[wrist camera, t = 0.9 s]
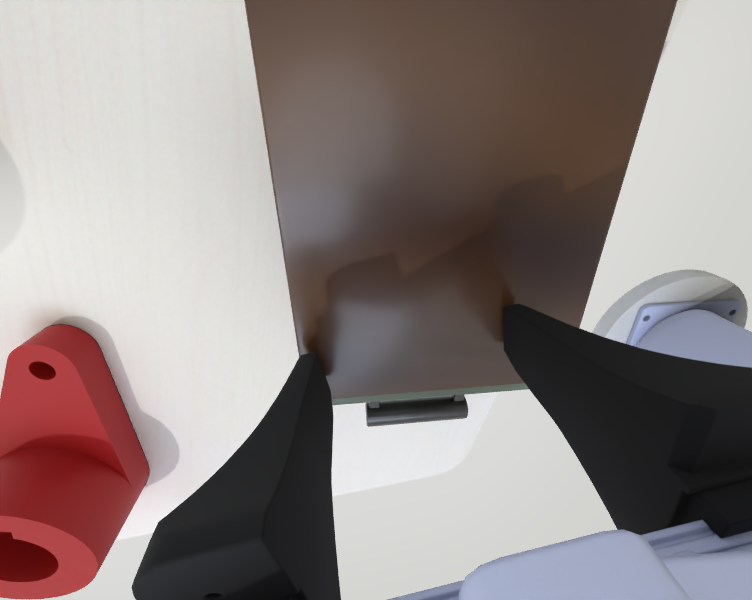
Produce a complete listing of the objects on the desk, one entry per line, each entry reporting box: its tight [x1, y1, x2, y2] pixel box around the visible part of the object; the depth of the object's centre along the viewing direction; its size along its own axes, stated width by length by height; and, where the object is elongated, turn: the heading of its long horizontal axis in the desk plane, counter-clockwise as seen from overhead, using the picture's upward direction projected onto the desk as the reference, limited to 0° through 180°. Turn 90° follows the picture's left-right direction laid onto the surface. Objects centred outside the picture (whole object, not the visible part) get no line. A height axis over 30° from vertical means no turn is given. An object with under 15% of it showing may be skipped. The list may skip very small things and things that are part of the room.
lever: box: [0, 325, 149, 599], centre depth 22 cm, size 18×9×7 cm, turn 164°
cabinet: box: [244, 0, 677, 399], centre depth 15 cm, size 14×11×9 cm
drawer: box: [332, 384, 529, 427], centre depth 17 cm, size 17×10×7 cm, turn 1°
